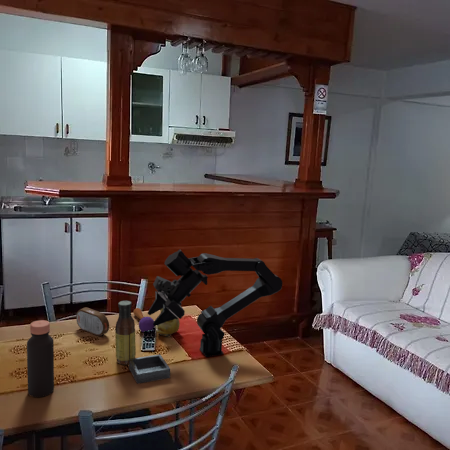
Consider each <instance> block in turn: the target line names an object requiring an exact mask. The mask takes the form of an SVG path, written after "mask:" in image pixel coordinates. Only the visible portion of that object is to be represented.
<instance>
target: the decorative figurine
mask: <svg viewBox="0 0 450 450" xmlns="http://www.w3.org/2000/svg"><path fill="white" fill-rule="evenodd" d="M166 301H167V300H166ZM159 311H160V313H161V312H162V311H163V308H162V309H160V310H159ZM160 313H159V314H160ZM180 325H181V323H180V319H179V318H178V319H174V320H170V321H167V322H165V323H162V324H159V325H157V326H156V329H157V330H156V334H158V335H159V334H160V335H159V336H164V335H166V336H165V337H168V336H170V335H171V336H172V334H175V333H177V332H178V331H179V329H180ZM171 336H170V337H171Z"/></svg>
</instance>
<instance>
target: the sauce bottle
mask: <svg viewBox="0 0 450 450" xmlns="http://www.w3.org/2000/svg"><path fill="white" fill-rule="evenodd" d="M117 305H118V306H117V307H118V318H117V320H116V323H115V329H114V331H115V358H116V363H118V364H120V365H123V366H124V365H129V359H133V358H136V351H137V348H136V324H135V319H134V318H133V316H132V309H131V308H132V301H130V300H121V301H119V302H118V303H117Z"/></svg>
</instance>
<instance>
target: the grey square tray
mask: <svg viewBox="0 0 450 450" xmlns="http://www.w3.org/2000/svg"><path fill="white" fill-rule="evenodd" d="M128 369H129V371H130V373H131V374H132V376H133V378H134V380H135V382H136V384H145V383H149V382H154V381H155V382H156V381H159V380H160V381H161V380H167V379H171V367H170V366H169V365H168V364H167V362H166V361H165V359H164V357H162V355H161V354H153V355H147V356H146V355H145V356H140V357H135V358H133V359H129V364H128Z"/></svg>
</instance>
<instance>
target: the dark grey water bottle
mask: <svg viewBox="0 0 450 450" xmlns="http://www.w3.org/2000/svg"><path fill="white" fill-rule="evenodd" d="M50 325H51V323H50V322H49V321H48V320H43V319H40V320H34V321H32V322H31V323H30V325H29V329H30V330H29V332H30V335H31V336H30V338H28V339H27V342H26V362H27V363H26V365H27V367H26V368H27V371H26V372H27V374H26V375H27V393H28V395H29V396H30V397H33V398H43V397H46V396H49V395H51V394H52V393H53V391H54V390H55V366H54V365H55V362H54V361H55V359H54V358H55V357H54V352H55V351H54V338H53V337H52V336H51V335H49V334H50V331H51V330H50V329H51V326H50Z"/></svg>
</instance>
